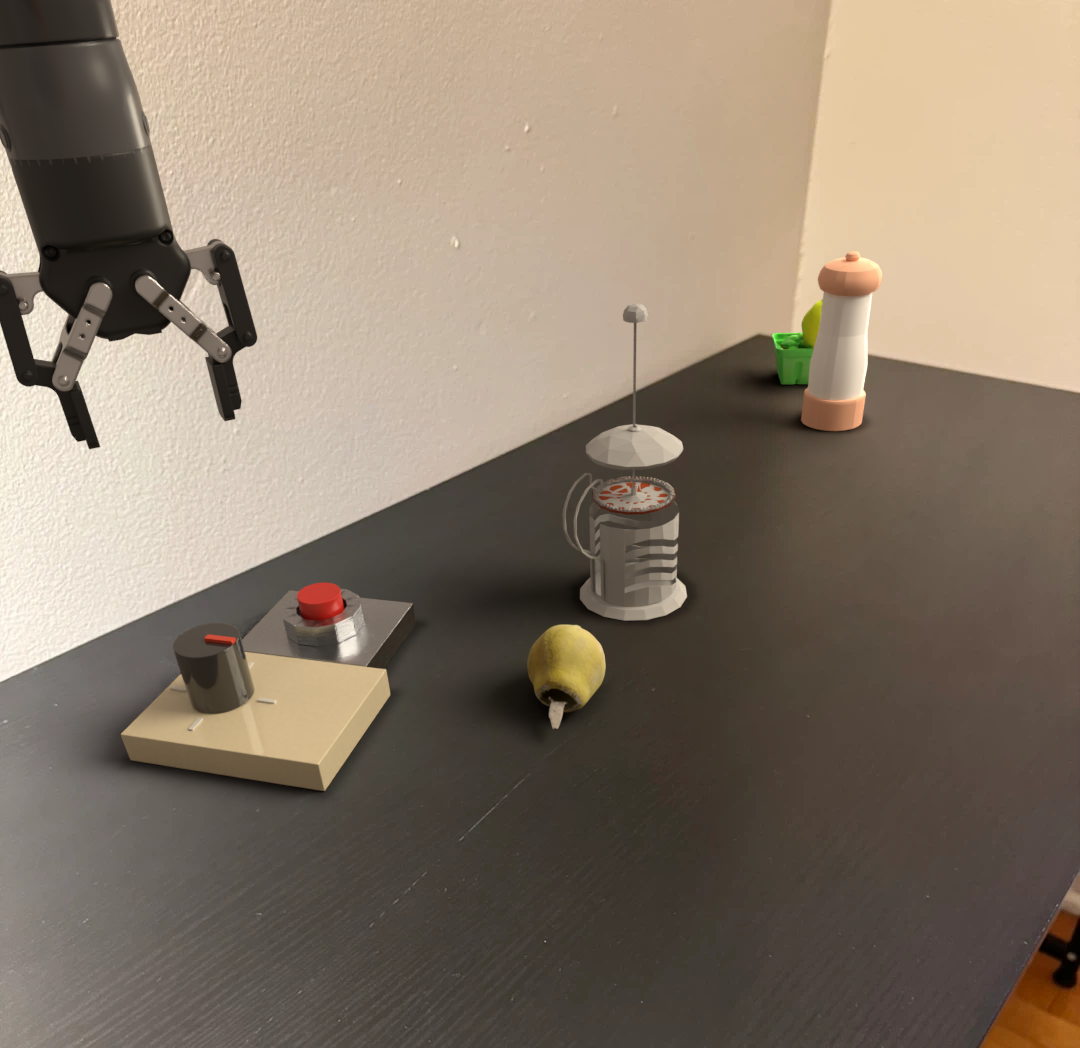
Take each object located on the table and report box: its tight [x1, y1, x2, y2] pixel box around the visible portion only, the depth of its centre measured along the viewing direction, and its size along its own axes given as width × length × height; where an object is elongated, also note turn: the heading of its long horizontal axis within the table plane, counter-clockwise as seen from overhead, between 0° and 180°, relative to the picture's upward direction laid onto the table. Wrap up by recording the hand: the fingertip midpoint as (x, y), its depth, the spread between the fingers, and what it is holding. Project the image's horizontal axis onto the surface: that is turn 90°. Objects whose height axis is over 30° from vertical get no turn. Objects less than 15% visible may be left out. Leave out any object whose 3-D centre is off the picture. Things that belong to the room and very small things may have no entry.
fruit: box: [526, 624, 607, 731], centre depth 75 cm, size 6×6×10 cm
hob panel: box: [120, 652, 391, 792], centre depth 75 cm, size 16×12×3 cm
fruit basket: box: [771, 298, 823, 386], centre depth 129 cm, size 11×9×11 cm
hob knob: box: [172, 622, 255, 713], centre depth 73 cm, size 5×5×5 cm
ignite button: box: [297, 582, 344, 621], centre depth 82 cm, size 4×4×2 cm
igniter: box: [241, 588, 417, 669], centre depth 83 cm, size 12×10×4 cm
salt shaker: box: [800, 250, 883, 432], centre depth 115 cm, size 7×7×19 cm
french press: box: [562, 303, 688, 622], centre depth 81 cm, size 10×12×25 cm
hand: (161, 430), depth 64 cm, fingers open, 8 cm apart
